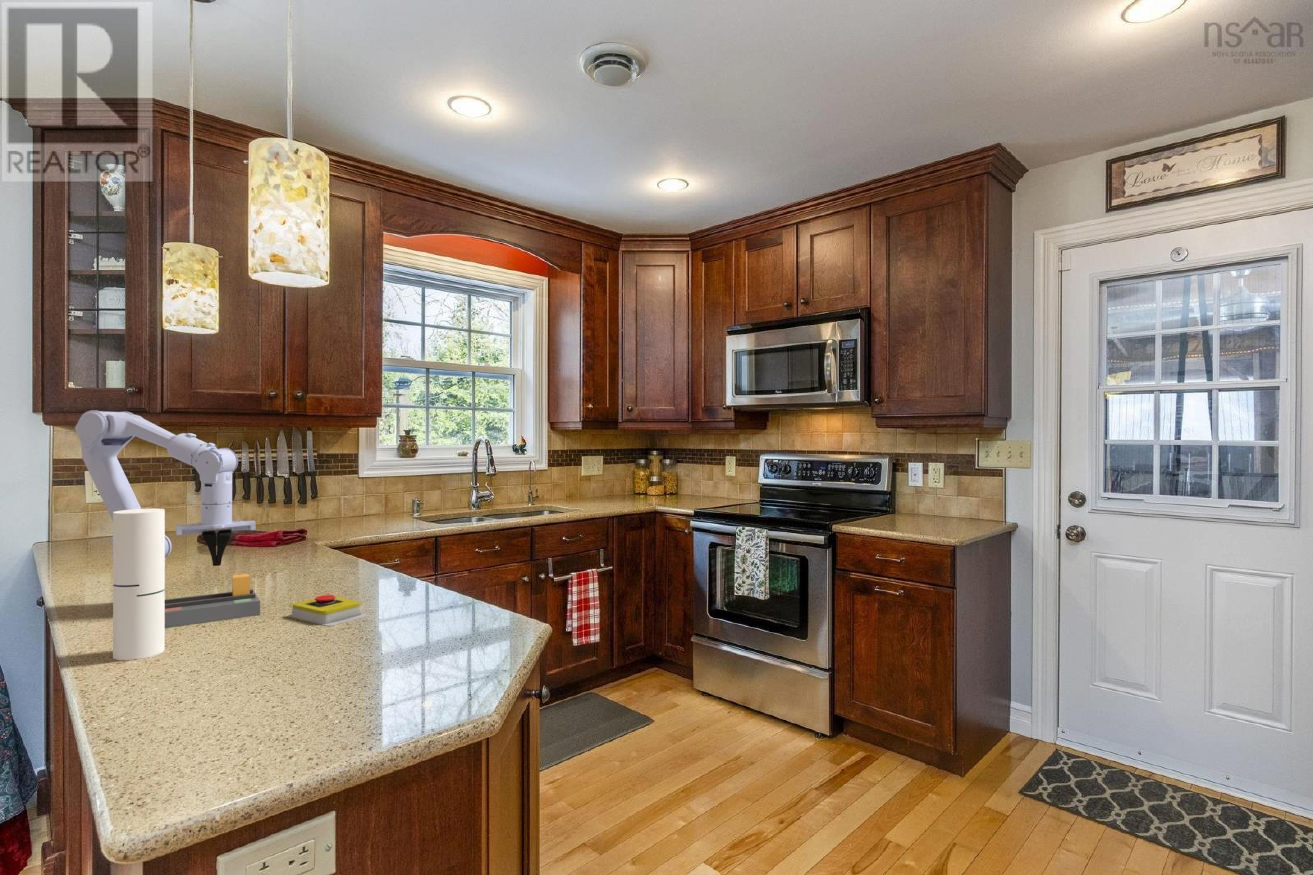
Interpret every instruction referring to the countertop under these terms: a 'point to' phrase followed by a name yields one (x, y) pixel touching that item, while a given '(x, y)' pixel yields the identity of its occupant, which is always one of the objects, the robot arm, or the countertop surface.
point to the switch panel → (210, 608)
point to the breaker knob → (240, 584)
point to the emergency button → (328, 610)
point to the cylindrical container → (138, 583)
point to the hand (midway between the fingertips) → (216, 565)
